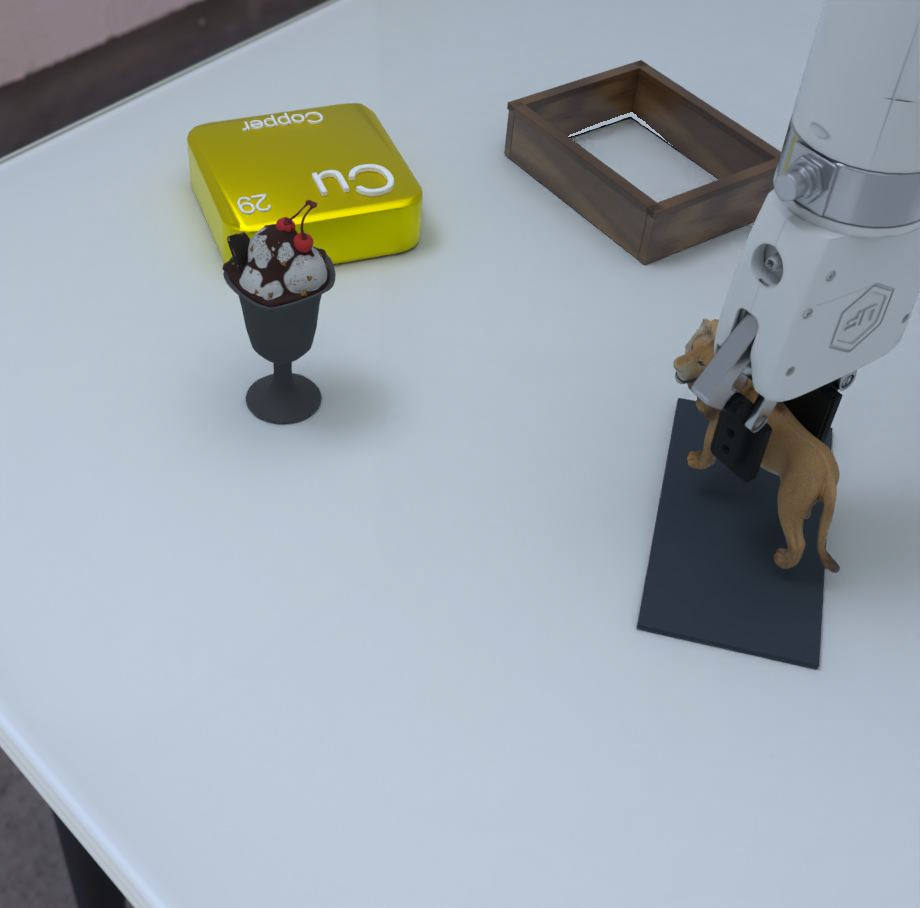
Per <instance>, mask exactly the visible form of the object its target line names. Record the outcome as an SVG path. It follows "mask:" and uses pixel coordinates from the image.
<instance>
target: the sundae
mask: <svg viewBox="0 0 920 908" xmlns="http://www.w3.org/2000/svg"><path fill="white" fill-rule="evenodd" d="M305 202H306V204H305V205H304V206H303V207H302V208H301V209H300V210H299V212H298V213H296V214H295V215H294V216H292V217H291V218H288V217H283V218H280V219H278V220H277V222H276V224H271V225H265V226H264V227H263V228H261V229H260V230H259V231H258V232H257V233H256V234H255V235H254V236H253V237H252V238H251V239H250V238H249V237H248V235H247V234H246V233H245V232H242V233H239V234H237V233H236V234H234V235H230V236H227V242H228V245H229V248H230V251H231V254H232V257H231V258H230V260H229V261H228V262H226V263H225V264H223V265H222V267H221V269H222V270H223V273H222V274H223V279H224V280H225V283H226V284H227V286H228V287H229V288H230V289H231V290H232V291H233V292H234V293H235V294H236V295H237V296H238V299H239V302H240V307H241V311H242V317H243V321H244V325H245V331H246V333H247V336H248V339H249V342H250V345H251V348H252V349H253V350H254V352H255V353H256V354H257V355H259V356H260V357H261V358H263V359H264V360H266V361H268V362H270V363H272V364H273V365H272V366H273V373H271V374H268V375H265V376H263V377H260V378H258V379H257V380H255V381H254V382H252V384H251V385H250V386H249V388H248V390H247V392H246V395H245V403H246V406H247V409H249V411H250V412H251V413H252V414H253V415H254V416H255V417H258V418H259V419H261V420H263V421H265V422H268V423H273V424H279V425H280V424H281V425H282V424H284V425H285V424H293V423H298V422H301V421H303V420H305V419H307V418H310V417H311V416H312V415H314V413H315V412H317V410H318V409H319V407H320V405H321V404H322V400H323V399H322V393H321V390H320V387H318V385H317V384H316V383H315V382H314V381H312V379H309V378H308V377H306V376H305V375H302V374H299V373H294V372H293V362H295V361H298V360H299V359H300V358H302V357H303V356H305V355H306V354H307V353H308V352H309V351H310V350H311V349H312V346H313V343H314V339H315V335H316V331H317V326H318V320H319V313H320V304H321V300H322V295H323V294H325V293H327V292H328V291H331V289H332V288H333V287H334V285H335V283H336V268H335V264H333V263H332V260H331V258H330V257H329V256H328V255H327V254H326V251H325V250H323V249H319V248H316V247H314V246H313V238H312V237H311V236H310V235H309V234H306V233H304V230H303V224H304V220H305V217H306V215H307V214H308V213H309V212H310V211H311V210H312V209H313V208H316V207H317V203H316V202H313V201H311V200H306V201H305ZM308 205H310V208H309V210H308V211H307V212H306V213H305V215H304V216H303V218H302V221H301V226H300V230H301V233H297V231H296V230H295V227H296V226H295V223H294V222H293V220H292V219H294V218H295V217H296V216H297V215H298V214H299V213H300V212H301V211H302V210H303V209H304V208H305V207H306V206H308Z"/></svg>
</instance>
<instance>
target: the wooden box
mask: <svg viewBox="0 0 920 908" xmlns="http://www.w3.org/2000/svg"><path fill="white" fill-rule="evenodd" d="M506 105H507V106H506V110H507V111H508V112H507V113H508V114H507V123H506V133H505V142H504V150H503V151H504V152H503V154H505V155H504V156H506V157H507V158H508V159H510V160H511V161H512V162H513V163H515V164H516V165H517V166H519V167H520V168H521V169H522V170H524V171H525V172H526V173H527V174H529V175H530V176H531V177H533V178H534V179H535V180H536V181H537V182H539V183H540V184H541V185H542V186H544V187H546V189H548V190H549V191H550V192H552V194H554V195H555V196H557V197H558V198H559V199H560V200H562V201H563V202H564V203H565V204H567V205H568V206H569V207H570V208H572V209H573V210H574V211H576V212H577V213H578V214H579V215H580V216H582V217H583V218H585V219H586V220H587V221H588V222H589V223H591V224H592V225H593V226H594V227H596V228H597V229H599V230H600V231H601V232H602V233H604V235H606V236H607V237H609V238H610V239H611V240H612V241H614V242H615V243H616V244H617V245H619V246H620V247H621V248H623V249H624V250H625V251H626V252H628V253H629V254H630V255H631V256H633V257H634V258H635V259H636V260H638V261H639V262H640V263H642V264H643V265H644V266H645V265H649V264H650V263H654V262H656V261H658V260H661V259H664V258H666V257H668V256H671V255H673V254H676V253H678V252H681V251H684V250H686V249H689V248H691V247H694V246H697V245H698V244H700V243H703V242H706V241H708V240H711V239H714V238H716V237H719V236H721V235H724V234H726V233H729V232H731V231H734V230H737V229H739V228H741V227H744V226H747V225H749V224H752V223H755V220H756V218H757V216H758V214H759V212H760V210H761V208H762V206H763V204H764V201H765V199H766V197H767V195H768V194H769V192H771V191H772V190H773V189H774V182H773V180H774V175H775V171H776V168H777V164H778V161H779V158H780V154H781V151H782V150H780V149H778V148H776V147H775V146H774V145H772V144H770V143H768V142H767V141H765V140H764V139H763V138H762V137H760V136H758V135H756V134H755V133H754V132H752V131H750V130H749V129H747V128H746V127H744V126H743V125H741V124H740V123H738V122H737V121H735V120H734V119H732V118H730V117H729V116H728V115H726V114H724V113H723V112H721V111H719V109H717V108H715V107H714V106H713V105H711V104H709V103H707V102H706V101H705V100H703V99H702V98H700V97H699V96H697V95H696V94H694V93H692V92H691V91H689V90H688V89H686V88H685V87H683V86H682V85H680V84H679V83H677V82H676V81H674V80H673V79H671V78H669V77H668V76H666V75H665V74H663V73H662V72H660V71H659V70H657V69H656V68H654V67H652V66H651V65H649V64H648V63H647V62H645V61H644V60H642V59H640V60H636V61H633V62H630V63H626V64H624V65H620V66H617V67H614V68H611V69H608V70H605V71H601V72H598V73H595V74H593V75H589V76H586V77H583V78H579V79H577V80H574V81H570V82H567V83H563V84H561V85H558V86H554V87H552V88H551V87H550V88H548V89H545V90H542V91H539V92H535V93H533V94H530V95H526V96H523V97H520V98H515V99H513V100H510V101H508V102H507V104H506ZM630 112H633V113H634V114H636V115H637V117H638V118H640V119H642V120H643V121H645V122H646V124H648V125H649V126H650V127H651V128H652V129H654V130H655V131H656V132H657V133H659V134H660V135H661V136H662V137H663V138H664V139H665V140H666V141H667V142H669V143H670V144H671V145H673V146H674V147H673V148H674V149H675V148H676V149H677V150H676V149H675V150H676V151H678V152H680V153H681V154H682V155H683V156H685V157H686V158H688V159H689V160H690V161H692V162H693V163H695V164H696V165H698V166H699V167H701V168H702V169H704V170H705V171H707V173H709V174H711V175H712V176H713V177H715V178H717V179H716V180H713V181H711V182H708V183H706V184H702V185H700V186H698V187H696V188H693V189H691V190H688V191H685V192H682V193H679V194H677V195H674V196H671V197H669V198H666V199H663V200H661V201H658V202H657V201H656V200H655V199H653V198H652V197H651V196H649V195H648V194H646V193H645V192H643V191H642V190H641V189H640V188H638V187H637V186H635V185H634V184H633V183H631V182H630V181H629V180H627V179H626V178H625V177H624V176H622V175H621V174H619V173H618V172H617V171H615V170H614V169H613V168H611V167H610V166H608V165H607V164H606V163H605V162H603V161H602V160H600V159H599V158H598V157H596V156H595V155H593V153H591V152H589V151H588V150H587V149H586V148H584V147H583V146H581V145H580V144H579V143H578V142H576V141H574V140H573V139H572V137H571V138H569V137H568V136H569V135H570V134H573V133H576V132H578V131H581V130H582V129H585V128H587V127H590V126H593V125H595V124H598V123H600V122H603V121H607V120H610V119H612V118H615V117H618V116H620V115H624V114H627V113H630ZM671 145H670V146H671Z"/></svg>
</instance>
